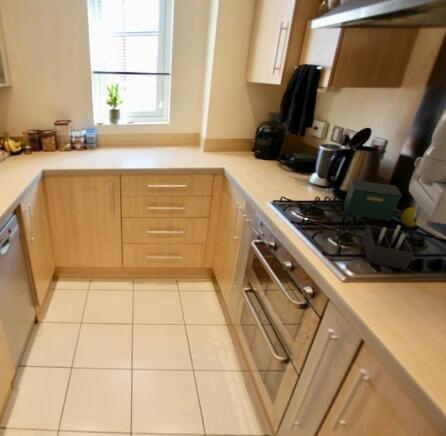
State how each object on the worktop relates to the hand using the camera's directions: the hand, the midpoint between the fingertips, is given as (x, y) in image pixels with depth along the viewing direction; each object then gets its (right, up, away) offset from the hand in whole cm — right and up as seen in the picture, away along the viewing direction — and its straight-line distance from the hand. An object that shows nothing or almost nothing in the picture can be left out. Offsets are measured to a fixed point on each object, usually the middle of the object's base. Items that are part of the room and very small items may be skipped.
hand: (418, 223), depth 78 cm
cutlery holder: (+7, -11, +20) cm, 24 cm away
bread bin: (+23, +3, +46) cm, 52 cm away
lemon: (+30, -2, +36) cm, 46 cm away
